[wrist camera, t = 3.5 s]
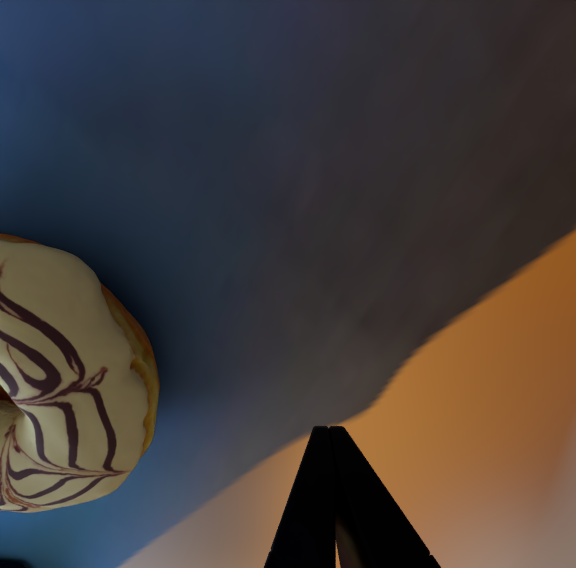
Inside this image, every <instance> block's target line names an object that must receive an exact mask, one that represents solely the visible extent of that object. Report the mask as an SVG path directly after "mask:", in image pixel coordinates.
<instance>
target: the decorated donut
mask: <svg viewBox="0 0 576 568" xmlns="http://www.w3.org/2000/svg"><path fill="white" fill-rule="evenodd" d="M159 391H160V382H159V377H158V369H157V365H156V361H155V357H154V353H153V349H152V346H151V344H150V341H149V338H148V337H147V336H146V333H145V331H144V330H143V328H142V327H141V325H140V324H139V323H138V321H137V320H136V319H135V318H134V317H133V316H132V315H131V314H130V312H128V311H127V310H126V308H124V306H123V305H122V303H121V302H120V301H119V300H118V299H117V298H116V297H115V296H114V295H113V294H112V292H111V291H110V290H108V289H107V288H106V287H105V286H104V285H103V284H102V283H101V282H100V281H99V280H98V278H97V276H96V274H95V272H94V271H93V270H92V269H91V268H90V267H89V266H88V265H86V264H85V263H84V262H83V261H82V260H81V259H80V258H78V257H77V256H75V255H73V254H70V253H68V252H66V251H63V250H59V249H56V248H52V247H48V246H44V245H42V244H40V243H38V242H35V241H32V240H27V239H24V238H21V237H18V236H14V235H8V234H2V233H0V510H1V511H13V512H21V513H30V512H40V511H45V510H51V509H55V508H60V507H65V506H71V505H76V504H80V503H84V502H88V501H91V500H95V499H97V498H100V497H103V496H105V495H108V494H110V493H112V492H113V491H115V490H116V489H117V488H118V487H119V486H120V485H121V484H122V483H123V481H124V480H125V479H126V478H127V477H128V476H129V474H130V473H131V471H132V470H133V469H134V468H135V467H136V465H137V463H138V461H139V459H140V458H141V457H142V455H143V454H144V453H145V451H146V450H147V449H148V447H149V445H150V443H151V442H152V439H153V436H154V432H155V431H154V430H155V422H156V414H157V405H158V399H159Z"/></svg>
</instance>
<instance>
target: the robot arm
mask: <svg viewBox="0 0 576 568" xmlns="http://www.w3.org/2000/svg"><path fill="white" fill-rule="evenodd" d="M336 544H337V549H338V555H339V561H340V566H341V568H441V567H440V565H439V564H438V562H437V561H436V559H435V558H434V557H433V555H430V551H429V550H428V548H427V547H426V545H425V544H424V542H423V541H422V540H421V538H420V536H419V535H418V534H417V532H416V531H415V529H414V528H413V526H412V525H411V524H410V522H409V521H408V519H407V518H406V516H405V515H404V513H403V512H402V510H401V509H400V507H399V506H398V505H397V503H396V502H395V501H394V499H393V497H392V496H391V494H390V493H389V492H388V490H387V489H386V487H385V486H384V484H383V483H382V481H381V480H380V478H379V477H378V476H377V474H376V473H375V472H374V470H373V469H372V467H371V465H370V464H369V462H368V461H367V460H366V458H365V457H364V455H363V454H362V452H361V451H360V450H359V448H358V447H357V445H356V444H355V442H354V441H353V439H352V438H351V436H350V435H349V434H348V432H347V431H346V429H345V428H344V427H342V426H330V427H329V428H328V427H327V426H314V427H313V430H312V433H311V435H310V438H309V441H308V444H307V447H306V450H305V453H304V455H303V458H302V461H301V464H300V467H299V470H298V472H297V475H296V478H295V481H294V484H293V487H292V489H291V492H290V495H289V498H288V501H287V504H286V507H285V510H284V512H283V515H282V518H281V521H280V524H279V526H278V529H277V532H276V535H275V538H274V541H273V544H272V547H271V551H270V552H269V554H268V557H267V560H266V563H265V566H264V568H336V564H335V563H336V559H335V558H336V551H335V550H336ZM429 555H430V556H429ZM0 568H26V567H25V566H24V565H22V564H20V563H2V562H0Z"/></svg>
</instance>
